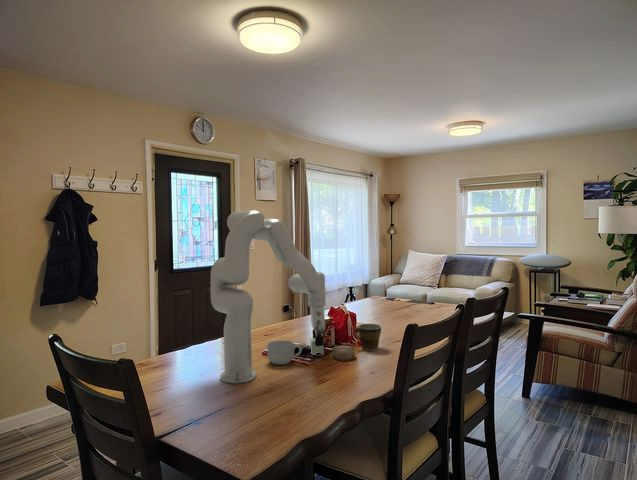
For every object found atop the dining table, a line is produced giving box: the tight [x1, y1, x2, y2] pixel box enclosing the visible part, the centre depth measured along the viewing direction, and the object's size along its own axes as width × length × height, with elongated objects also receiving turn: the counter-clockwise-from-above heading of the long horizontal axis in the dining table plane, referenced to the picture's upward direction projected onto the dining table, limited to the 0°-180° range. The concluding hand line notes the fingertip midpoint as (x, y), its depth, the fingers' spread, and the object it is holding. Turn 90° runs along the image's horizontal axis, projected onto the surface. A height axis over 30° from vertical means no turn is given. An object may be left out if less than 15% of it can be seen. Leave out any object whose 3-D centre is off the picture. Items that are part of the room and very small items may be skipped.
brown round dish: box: [331, 345, 356, 362], centre depth 171 cm, size 9×9×4 cm
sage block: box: [309, 337, 325, 356], centre depth 177 cm, size 5×5×6 cm
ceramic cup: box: [350, 323, 382, 353], centre depth 182 cm, size 13×10×10 cm
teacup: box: [266, 339, 303, 366], centre depth 165 cm, size 14×11×8 cm
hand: (317, 342), depth 177 cm, fingers open, 9 cm apart
